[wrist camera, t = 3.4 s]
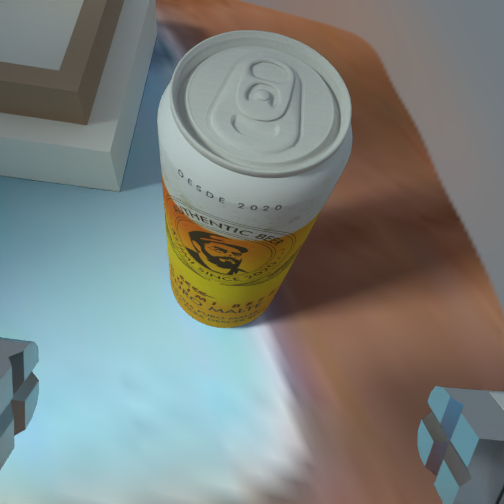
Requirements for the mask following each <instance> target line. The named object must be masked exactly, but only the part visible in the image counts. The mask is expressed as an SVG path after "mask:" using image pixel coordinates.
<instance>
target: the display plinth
mask: <svg viewBox="0 0 504 504" xmlns="http://www.w3.org/2000/svg"><path fill="white" fill-rule="evenodd" d="M156 37H157V20H156V5H155V0H0V175H1V176H8V177H15V178H23V179H30V180H37V181H45V182H52V183H59V184H66V185H74V186H81V187H88V188H96V189H103V190H110V191H118V192H120V188H121V184H122V180H123V175H124V171H125V167H126V163H127V159H128V154H129V150H130V146H131V142H132V138H133V134H134V129H135V125H136V121H137V117H138V113H139V108H140V104H141V100H142V96H143V92H144V88H145V83H146V79H147V75H148V71H149V67H150V62H151V58H152V54H153V50H154V46H155V42H156Z"/></svg>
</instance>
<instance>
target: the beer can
mask: <svg viewBox="0 0 504 504" xmlns="http://www.w3.org/2000/svg"><path fill="white" fill-rule="evenodd" d="M351 117H352V105H351V98H350V95H349V92H348V89H347V87H346V84H345V82H344V81H343V79H342V77H341V75H340V74H339V73H338V71H337V70H336V69H335V68H334V67H333V65H332V64H331V63H330V62H329V61H328V60H327V59H325V58H324V57H323V56H322V55H321V54H319V53H318V52H317V51H315V50H314V49H312V48H311V47H309V46H307V45H305V44H303V43H301V42H299V41H297V40H295V39H292V38H290V37H287V36H284V35H280V34H276V33H272V32H266V31H257V30H240V31H231V32H227V33H222V34H219V35H216V36H213V37H210V38H208V39H206V40H204V41H202V42H200V43H199V44H197V45H196V46H194V47H193V48H192V49H190V50H189V51H188V52H187V53H186V54H185V55H184V56H183V58H182V59H181V60H180V61H179V63H178V65H177V66H176V68H175V70H174V73H173V76H172V79H171V81H170V83H169V84H168V86H167V88H166V89H165V91H164V93H163V95H162V98H161V100H160V104H159V108H158V116H157V124H158V137H159V149H160V161H161V172H162V184H163V196H164V208H165V220H166V232H167V244H168V256H169V268H170V280H171V286H172V290H173V293H174V296H175V298H176V300H177V302H178V303H179V305H180V306H181V307H182V308H183V310H184V311H185V312H186V313H187V314H188V315H190V316H191V317H192V318H194V319H195V320H197V321H199V322H201V323H203V324H206V325H209V326H213V327H218V328H232V327H238V326H241V325H244V324H247V323H249V322H251V321H253V320H255V319H256V318H257V317H259V316H260V315H261V314H262V313H263V312H264V311H265V310H266V309H267V308H268V306H269V305H270V303H271V302H272V300H273V298H274V296H275V295H276V293H277V291H278V289H279V287H280V285H281V284H282V282H283V280H284V278H285V276H286V274H287V273H288V271H289V269H290V267H291V265H292V263H293V262H294V260H295V258H296V256H297V254H298V252H299V251H300V249H301V247H302V245H303V243H304V242H305V240H306V238H307V236H308V234H309V232H310V231H311V229H312V227H313V225H314V223H315V221H316V220H317V218H318V216H319V214H320V212H321V210H322V209H323V207H324V205H325V203H326V201H327V199H328V198H329V196H330V194H331V192H332V190H333V189H334V187H335V185H336V183H337V181H338V179H339V178H340V176H341V174H342V172H343V170H344V168H345V166H346V164H347V162H348V160H349V157H350V153H351V149H352V127H351Z"/></svg>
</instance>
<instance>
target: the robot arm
mask: <svg viewBox="0 0 504 504" xmlns="http://www.w3.org/2000/svg"><path fill="white" fill-rule="evenodd" d="M38 361H39V359H38V346H37V345H36V343H35V342H33V341H25V340H17V339H9V338H2V337H0V470H1V468H2V467H3V465H4V463H5V462H6V460H7V458H8V457H9V455H10V454H11V452H12V450H13V449H14V436H15V435H16V434H18V433H20V432H22V431H23V430H25V429H26V427H27V426H28V424H29V422H30V420H31V419H32V416H33V413H34V410H35V408H36V405H37V400H38V393H39V380H38V379H37V377H36V376H35V375H34V374H33V372H32V370H33V368H34V367H35V366H36V364H37V363H38ZM428 405H429V407H430V409H431V412H430V413H429V414H428V415H426V416H425V417H424V418H423V419H421V423H420V426H419V430H418V450H419V454H420V457H421V459H422V461H423V464H424V466H425V467H426V468H427V469H429V470H430V471H431V472H432V473H433V474H435V475H436V476H437V477H436V480H435V483H434V486H435V488H436V490H437V492H438V494H439V496H440V498H441V500H442V502H443V504H504V391H490V390H473V389H462V388H450V387H439V386H436V387H435V388H434V389H433V390H432V392H431V394H430V396H429V399H428Z"/></svg>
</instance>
